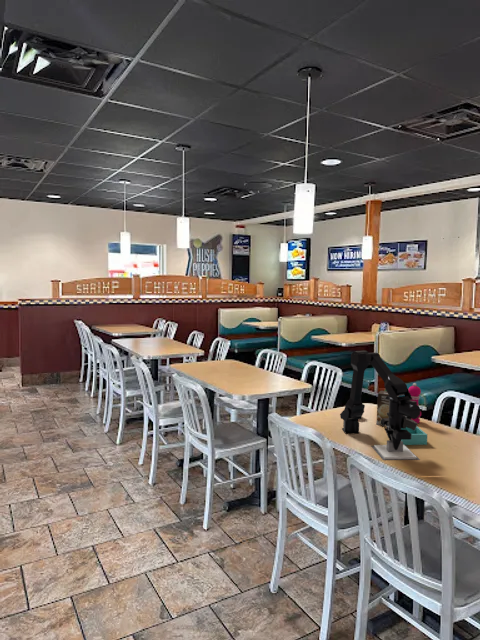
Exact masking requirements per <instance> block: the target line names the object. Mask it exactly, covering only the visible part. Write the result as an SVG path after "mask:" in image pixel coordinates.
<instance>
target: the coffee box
mask: <svg viewBox="0 0 480 640" xmlns="http://www.w3.org/2000/svg"><path fill="white" fill-rule="evenodd" d="M388 395H389V394H388V393H387V391H386V390H380V391H379V392H378V393H377V402H376V403H377V404H376V406H377V407H376V425H377V426H378V425H379V426H382V425H381V420H382V419H383V418H389V416H388V415H387V413H389V400H388V399H386V397H387V396H388ZM397 397H400V396H397ZM384 427H387V426H386V424H385V426H384Z"/></svg>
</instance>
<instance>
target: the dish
mask: <svg viewBox="0 0 480 640" xmlns="http://www.w3.org/2000/svg"><path fill="white" fill-rule="evenodd" d="M401 429H403V428H401ZM406 430H407V431H408V432H410V433H411V434H412V436H411V440H401V441H402V442H403V445H405V446H417V445H418V446H419V445H420V446H424V445H425V446H427V445H428V433H426V432H425V431H424V430H423V429H421V428H419V426H417V427H416V429H415V431H414V430H412V429H410V428H407V427H406Z"/></svg>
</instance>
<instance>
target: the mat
mask: <svg viewBox="0 0 480 640" xmlns="http://www.w3.org/2000/svg"><path fill="white" fill-rule="evenodd" d="M371 448H372V449H373V450H374V451H375V452H376V454H377V455H378V456H379V458H380V459H381V460H382V461H415V460H416V461H420V460H421V459H420V458H419V457H418V456H417V455H416V454H415V453H414V452H412V453H413V454H414V455H415V456H416V457H417V459H384V458H383V457H382V455H381V454H380V453H379V452H378V451H377V450H376V449H375V447H374V445H371Z"/></svg>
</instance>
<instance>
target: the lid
mask: <svg viewBox="0 0 480 640" xmlns="http://www.w3.org/2000/svg"><path fill="white" fill-rule="evenodd" d="M373 446H374V447H375V449H376V450H377V451H378V452H379V453H380V454H381V455H382V457H383V458H384V459H417V457H418V456H417V455H416V454H415V453H414V452H412V450H411V449H409V447H408V446H407V445H403V442H402V441H401V442H400V444H399V447H398V449H397V450H395V449H394V446H393V443H392V440H389V439H388V440H386V444H374V445H373ZM413 453H414V454H415V455H416V456H417V457H416V456H415V455H414V454H413Z"/></svg>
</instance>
